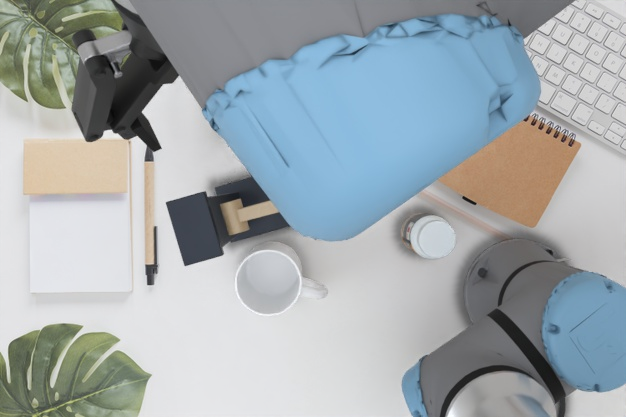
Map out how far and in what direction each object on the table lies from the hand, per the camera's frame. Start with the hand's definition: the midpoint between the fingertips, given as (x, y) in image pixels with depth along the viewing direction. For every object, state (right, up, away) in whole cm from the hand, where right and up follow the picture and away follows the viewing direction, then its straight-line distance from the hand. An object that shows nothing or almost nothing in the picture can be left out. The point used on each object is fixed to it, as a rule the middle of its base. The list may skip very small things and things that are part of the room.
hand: (225, 102), depth 46 cm
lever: (+6, -8, +4) cm, 11 cm away
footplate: (0, -9, +30) cm, 32 cm away
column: (-4, -10, +29) cm, 31 cm away
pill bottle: (+23, -12, +31) cm, 40 cm away
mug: (+4, -18, +31) cm, 36 cm away
